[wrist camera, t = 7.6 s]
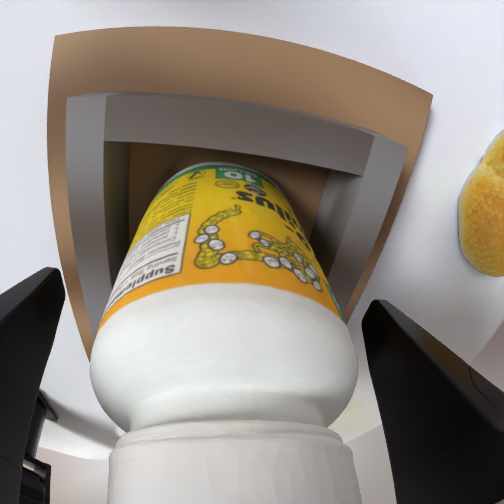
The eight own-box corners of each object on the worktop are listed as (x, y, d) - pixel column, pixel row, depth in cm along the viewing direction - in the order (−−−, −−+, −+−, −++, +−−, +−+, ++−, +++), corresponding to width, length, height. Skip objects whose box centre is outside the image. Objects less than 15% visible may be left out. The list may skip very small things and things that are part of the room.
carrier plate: (290, 404, 21) (298, 449, 17) (108, 390, 19) (98, 435, 15) (419, 92, 9) (486, 108, 6) (67, 37, 7) (4, 31, 4)
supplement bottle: (121, 219, 10) (14, 486, 2) (234, 125, 9) (319, 503, 1) (212, 303, 13) (218, 534, 5) (317, 237, 12) (425, 486, 4)
